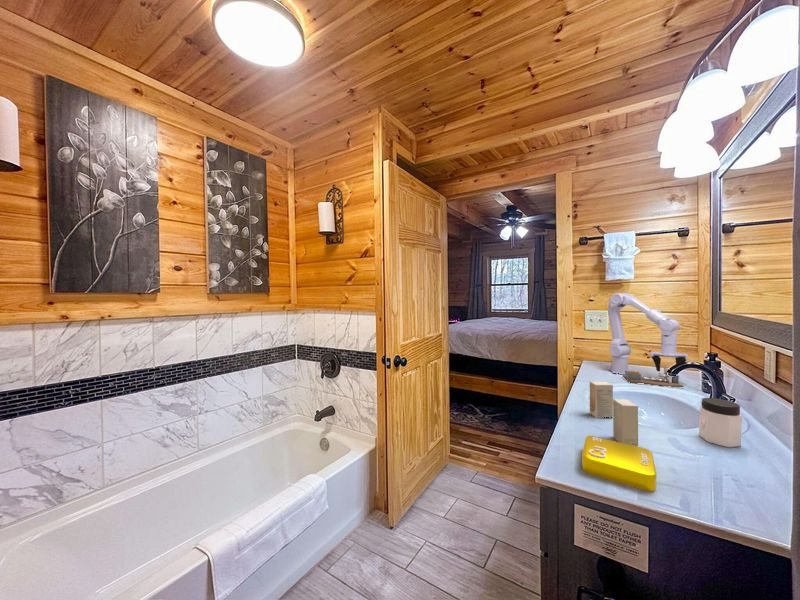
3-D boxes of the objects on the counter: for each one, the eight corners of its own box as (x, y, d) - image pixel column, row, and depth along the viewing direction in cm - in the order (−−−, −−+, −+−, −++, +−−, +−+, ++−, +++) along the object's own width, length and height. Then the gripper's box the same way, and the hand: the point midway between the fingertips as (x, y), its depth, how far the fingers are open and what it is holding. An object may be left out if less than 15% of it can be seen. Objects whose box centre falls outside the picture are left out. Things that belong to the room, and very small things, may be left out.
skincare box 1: (606, 413, 116) (607, 381, 115) (613, 418, 111) (614, 384, 111) (588, 413, 116) (589, 380, 116) (594, 417, 112) (595, 384, 111)
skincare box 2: (638, 447, 91) (639, 406, 91) (621, 445, 92) (622, 405, 92) (627, 437, 97) (628, 399, 97) (611, 435, 98) (612, 398, 98)
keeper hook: (656, 379, 155) (656, 371, 155) (674, 381, 152) (674, 372, 152) (660, 382, 151) (660, 373, 151) (678, 383, 148) (678, 375, 148)
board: (622, 376, 163) (622, 375, 163) (672, 381, 156) (672, 379, 156) (629, 383, 152) (629, 381, 152) (683, 388, 145) (683, 386, 145)
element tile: (657, 495, 71) (657, 475, 70) (581, 473, 79) (581, 454, 79) (651, 465, 83) (651, 447, 83) (585, 448, 91) (586, 432, 91)
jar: (694, 432, 101) (695, 395, 100) (726, 436, 98) (728, 398, 97) (710, 445, 92) (712, 405, 92) (746, 450, 89) (748, 409, 89)
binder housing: (625, 376, 160) (625, 369, 160) (637, 377, 158) (637, 370, 158) (628, 379, 155) (628, 372, 155) (640, 380, 153) (641, 373, 153)
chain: (641, 377, 158) (641, 366, 158) (666, 379, 154) (666, 367, 154) (645, 380, 152) (646, 369, 152) (671, 383, 149) (672, 371, 148)
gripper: (653, 344, 150) (652, 372, 150) (691, 346, 145) (690, 375, 145) (648, 342, 156) (647, 368, 157) (684, 344, 151) (683, 371, 152)
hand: (667, 371), depth 151 cm, fingers open, 7 cm apart
